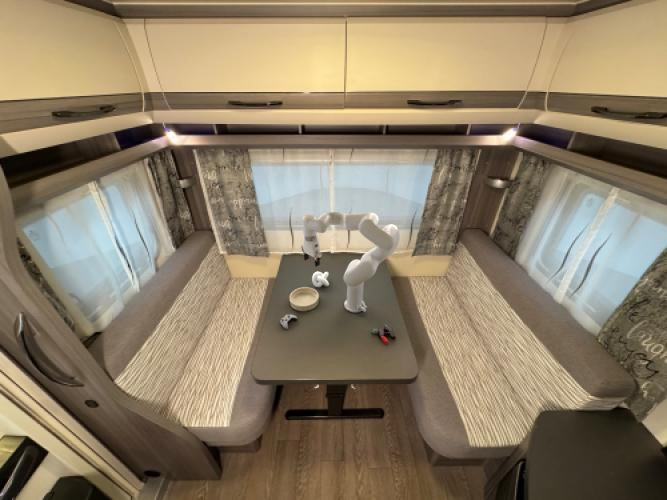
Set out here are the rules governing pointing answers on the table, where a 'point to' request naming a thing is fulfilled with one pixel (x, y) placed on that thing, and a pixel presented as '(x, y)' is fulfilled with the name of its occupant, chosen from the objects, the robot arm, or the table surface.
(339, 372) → the table surface
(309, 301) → the bowl
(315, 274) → the white knot sculpture
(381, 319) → the table surface
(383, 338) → the toy gun
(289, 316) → the game controller
